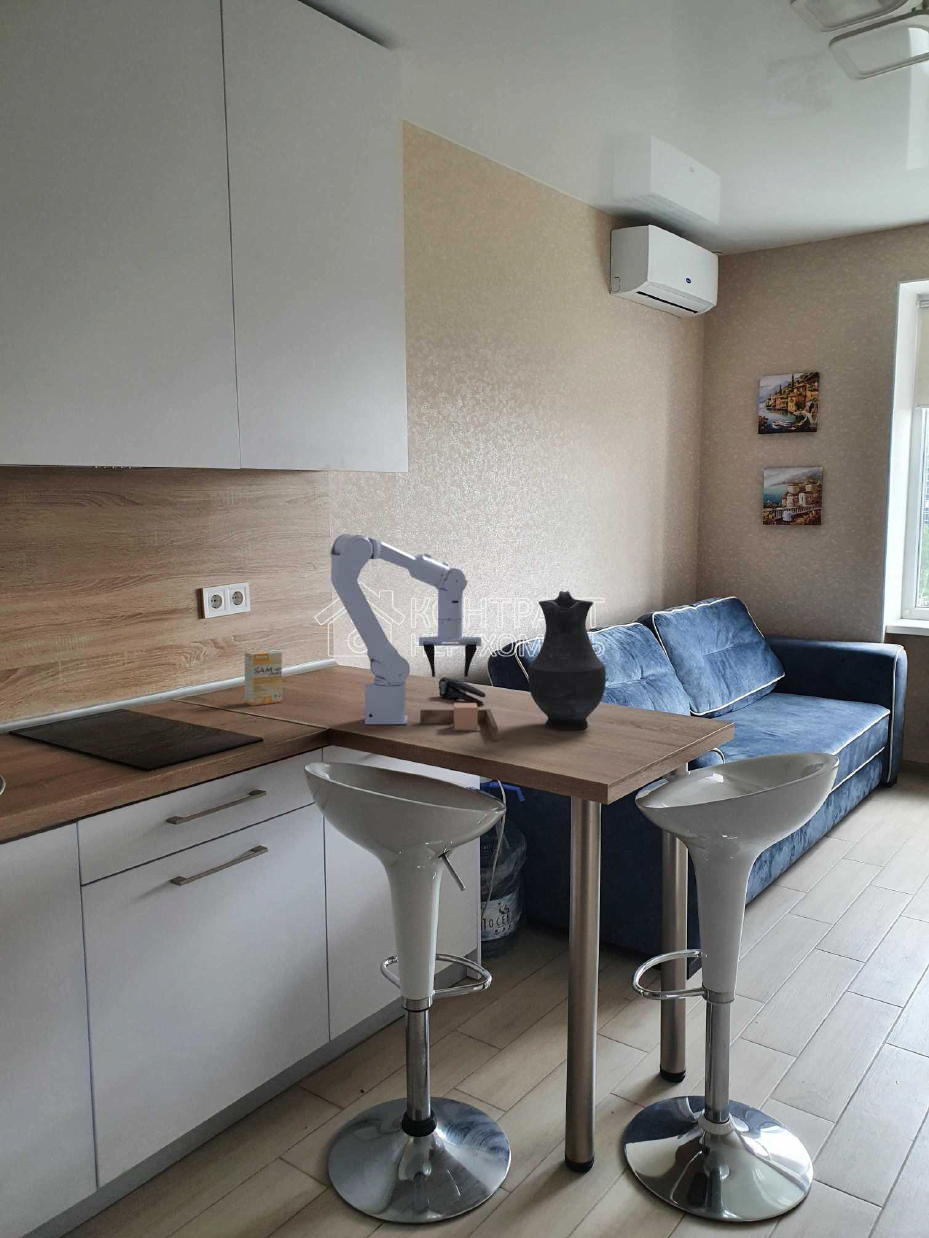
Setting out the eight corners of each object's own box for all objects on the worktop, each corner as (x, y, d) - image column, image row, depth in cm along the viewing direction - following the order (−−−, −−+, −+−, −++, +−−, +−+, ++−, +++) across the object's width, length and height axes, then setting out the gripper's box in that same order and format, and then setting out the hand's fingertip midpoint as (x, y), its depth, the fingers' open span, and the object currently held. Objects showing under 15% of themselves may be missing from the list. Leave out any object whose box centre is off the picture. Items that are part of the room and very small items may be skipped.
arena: (421, 741, 193) (421, 727, 193) (420, 722, 212) (420, 709, 211) (497, 741, 194) (497, 727, 194) (490, 722, 213) (490, 709, 212)
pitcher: (528, 734, 201) (530, 596, 198) (526, 713, 222) (528, 589, 219) (608, 735, 200) (612, 597, 197) (598, 715, 221) (601, 589, 218)
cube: (454, 729, 204) (454, 707, 203) (453, 724, 208) (453, 703, 208) (477, 729, 204) (477, 707, 203) (475, 724, 209) (476, 703, 208)
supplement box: (253, 706, 228) (252, 653, 227) (244, 703, 232) (243, 651, 231) (283, 702, 233) (282, 651, 232) (274, 699, 237) (273, 648, 236)
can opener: (431, 697, 243) (431, 676, 242) (453, 694, 247) (453, 673, 246) (471, 709, 228) (471, 686, 228) (494, 705, 232) (494, 683, 232)
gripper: (419, 620, 213) (419, 679, 214) (482, 620, 213) (481, 679, 215) (419, 617, 220) (418, 674, 221) (479, 617, 220) (479, 673, 222)
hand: (449, 676), depth 218 cm, fingers open, 7 cm apart
